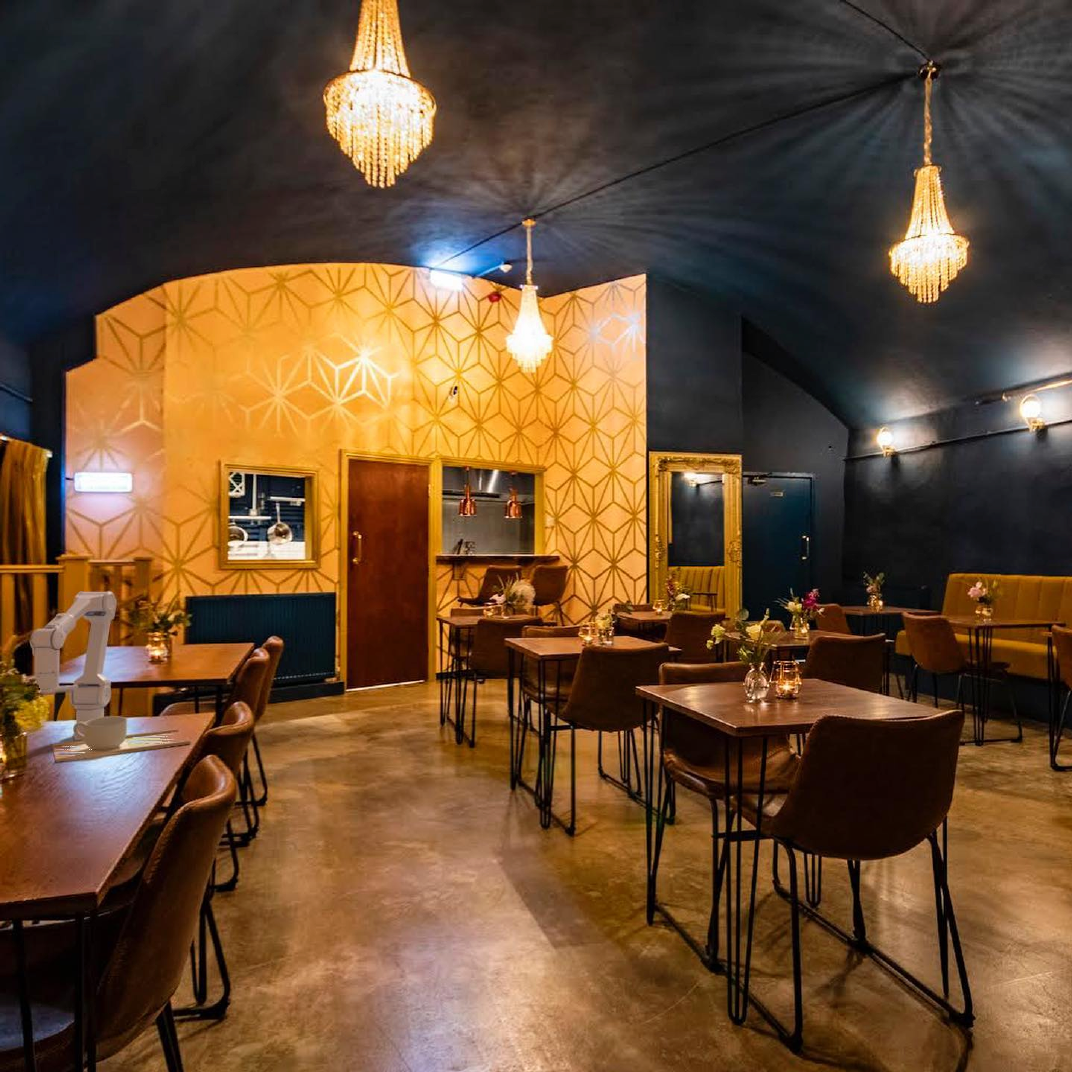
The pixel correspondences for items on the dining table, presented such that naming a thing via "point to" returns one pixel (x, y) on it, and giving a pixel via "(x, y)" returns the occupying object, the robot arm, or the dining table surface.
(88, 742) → the teacup
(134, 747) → the beige flat rectangular board
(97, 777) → the dining table surface
